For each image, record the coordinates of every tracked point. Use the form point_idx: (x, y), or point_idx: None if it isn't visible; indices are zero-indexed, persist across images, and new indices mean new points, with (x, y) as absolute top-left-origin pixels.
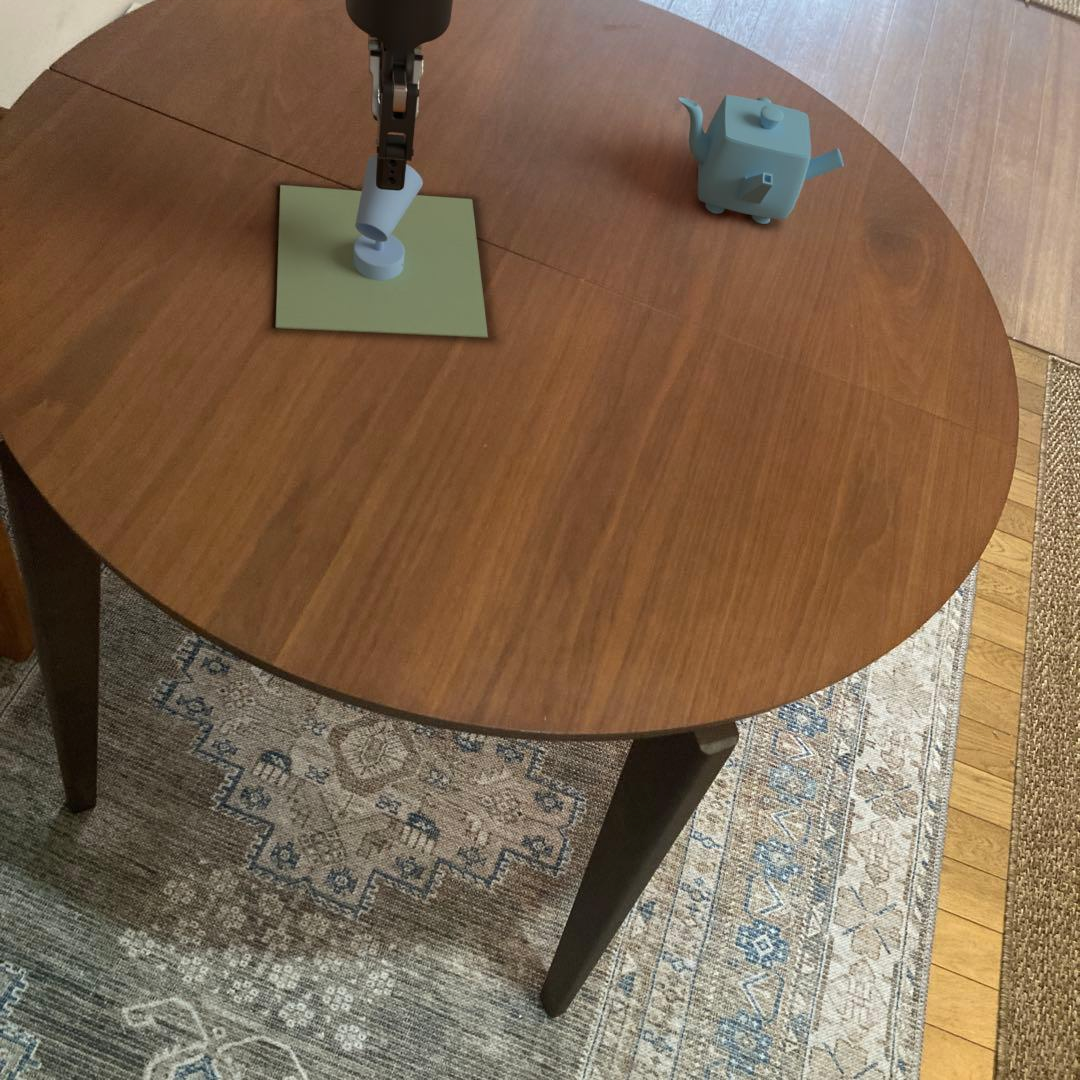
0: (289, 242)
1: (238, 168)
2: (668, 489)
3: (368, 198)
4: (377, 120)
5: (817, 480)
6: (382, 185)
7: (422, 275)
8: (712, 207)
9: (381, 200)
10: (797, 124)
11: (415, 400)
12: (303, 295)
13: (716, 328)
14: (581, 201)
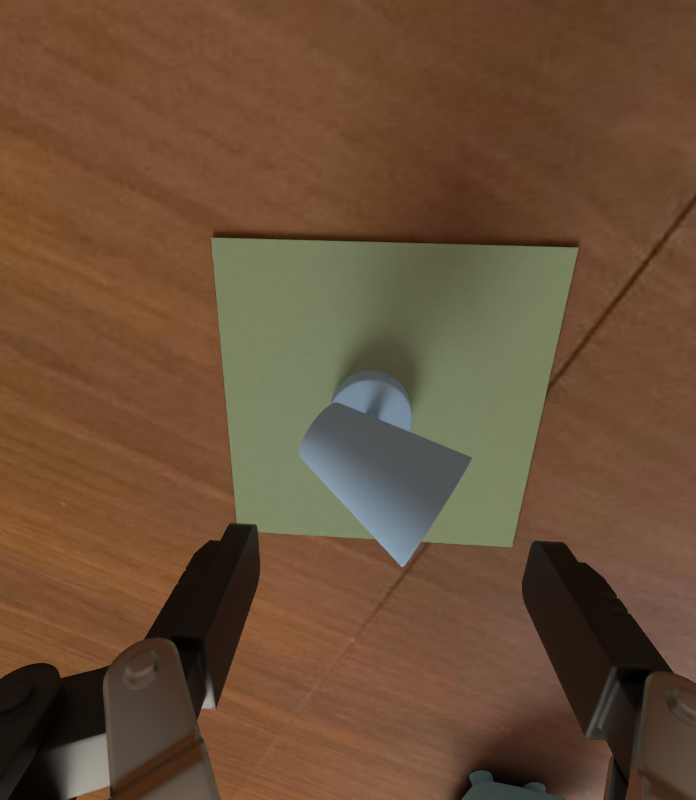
0: (416, 263)
1: (646, 156)
2: (57, 654)
3: (350, 451)
4: (531, 546)
5: None
6: (202, 548)
7: None
8: (476, 778)
9: (340, 478)
10: None
11: (113, 433)
12: (287, 286)
13: (286, 735)
14: (500, 664)
